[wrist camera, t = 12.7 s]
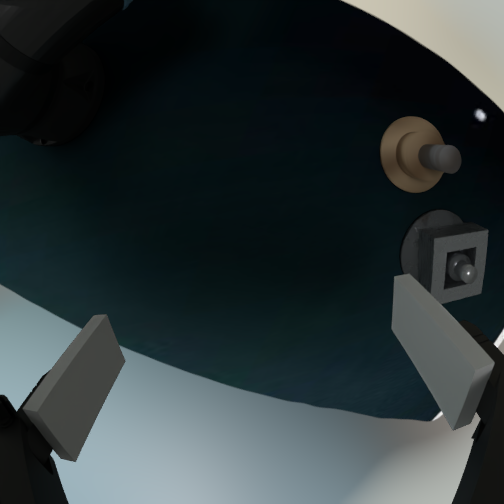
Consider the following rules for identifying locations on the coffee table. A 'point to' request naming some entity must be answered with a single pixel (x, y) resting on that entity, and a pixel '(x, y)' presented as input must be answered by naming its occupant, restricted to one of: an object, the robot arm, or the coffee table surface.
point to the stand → (416, 154)
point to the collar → (435, 252)
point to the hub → (455, 260)
